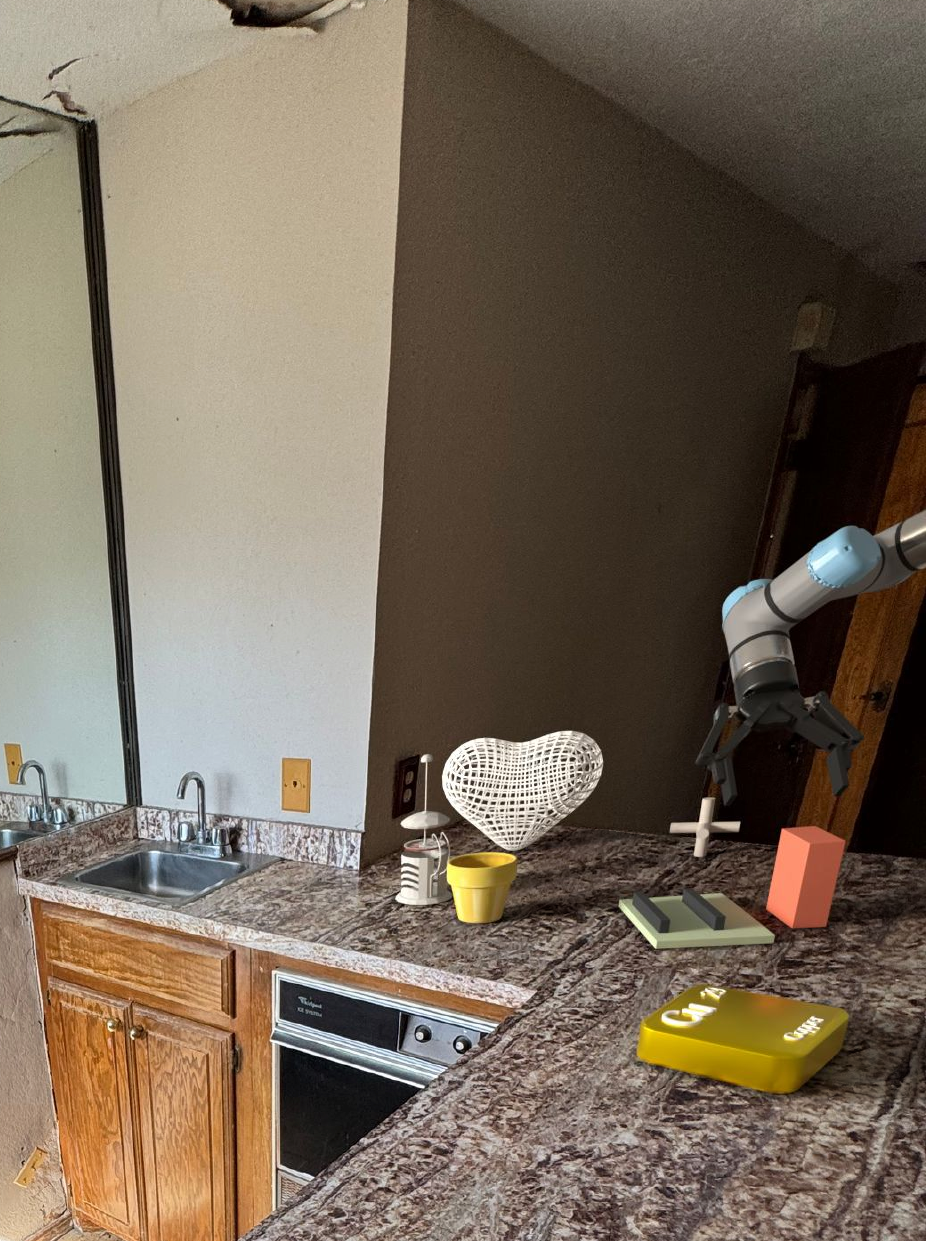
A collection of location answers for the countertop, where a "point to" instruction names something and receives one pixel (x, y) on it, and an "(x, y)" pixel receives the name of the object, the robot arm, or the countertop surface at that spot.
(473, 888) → the flower pot
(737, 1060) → the element tile
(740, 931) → the base pad
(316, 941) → the countertop surface
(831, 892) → the salmon orange rectangular block
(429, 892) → the french press
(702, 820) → the pipe connector
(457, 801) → the heart
